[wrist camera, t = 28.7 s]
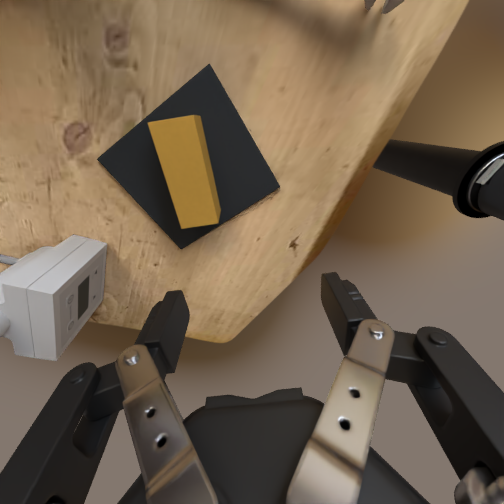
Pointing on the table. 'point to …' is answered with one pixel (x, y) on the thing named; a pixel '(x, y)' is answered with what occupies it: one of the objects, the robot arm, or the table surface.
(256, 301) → the table surface
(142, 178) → the mat
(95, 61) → the table surface
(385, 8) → the caliper
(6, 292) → the grey pipe housing
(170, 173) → the post
